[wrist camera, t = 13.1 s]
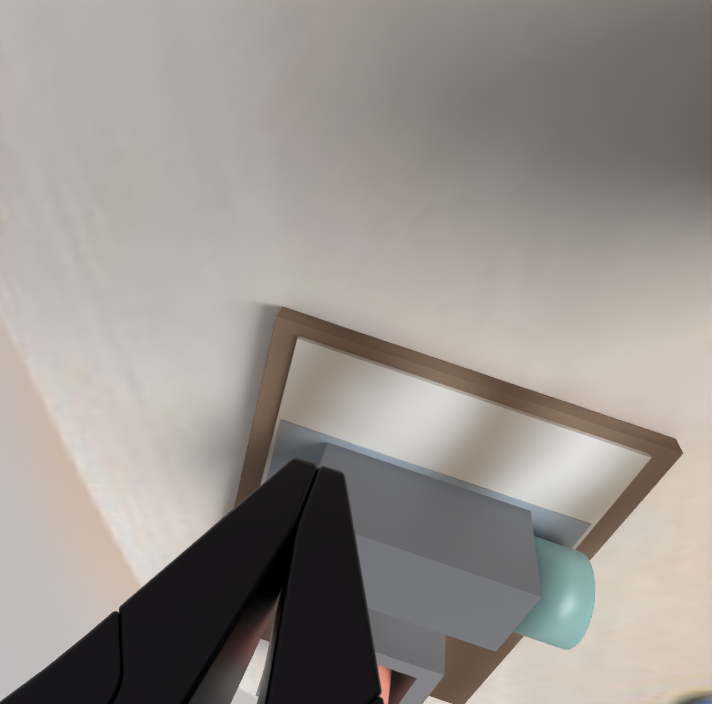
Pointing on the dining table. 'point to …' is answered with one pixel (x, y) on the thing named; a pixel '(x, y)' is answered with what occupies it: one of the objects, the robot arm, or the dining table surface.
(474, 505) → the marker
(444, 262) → the dining table surface
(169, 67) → the dining table surface
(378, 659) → the button housing
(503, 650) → the picture frame
